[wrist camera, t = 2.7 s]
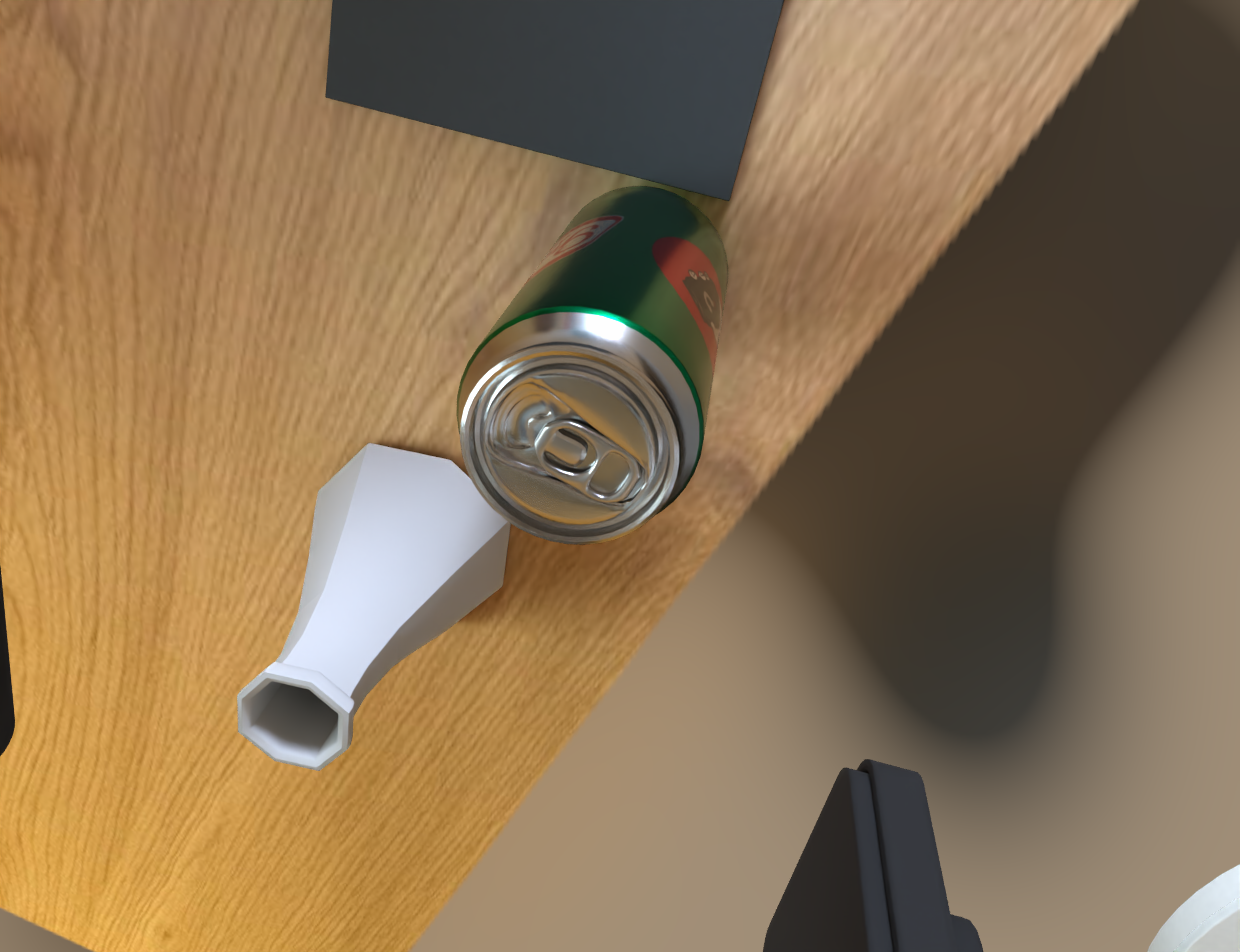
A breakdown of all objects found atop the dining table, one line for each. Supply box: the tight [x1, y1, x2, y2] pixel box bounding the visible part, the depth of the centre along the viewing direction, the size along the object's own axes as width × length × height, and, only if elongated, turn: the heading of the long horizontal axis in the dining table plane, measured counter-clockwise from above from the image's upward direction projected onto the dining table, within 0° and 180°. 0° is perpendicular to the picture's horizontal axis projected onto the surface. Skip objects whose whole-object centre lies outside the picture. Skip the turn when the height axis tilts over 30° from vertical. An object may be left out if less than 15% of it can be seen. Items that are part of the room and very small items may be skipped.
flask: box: [237, 443, 511, 771], centre depth 30 cm, size 7×7×10 cm
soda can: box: [457, 186, 728, 545], centre depth 24 cm, size 5×5×12 cm
